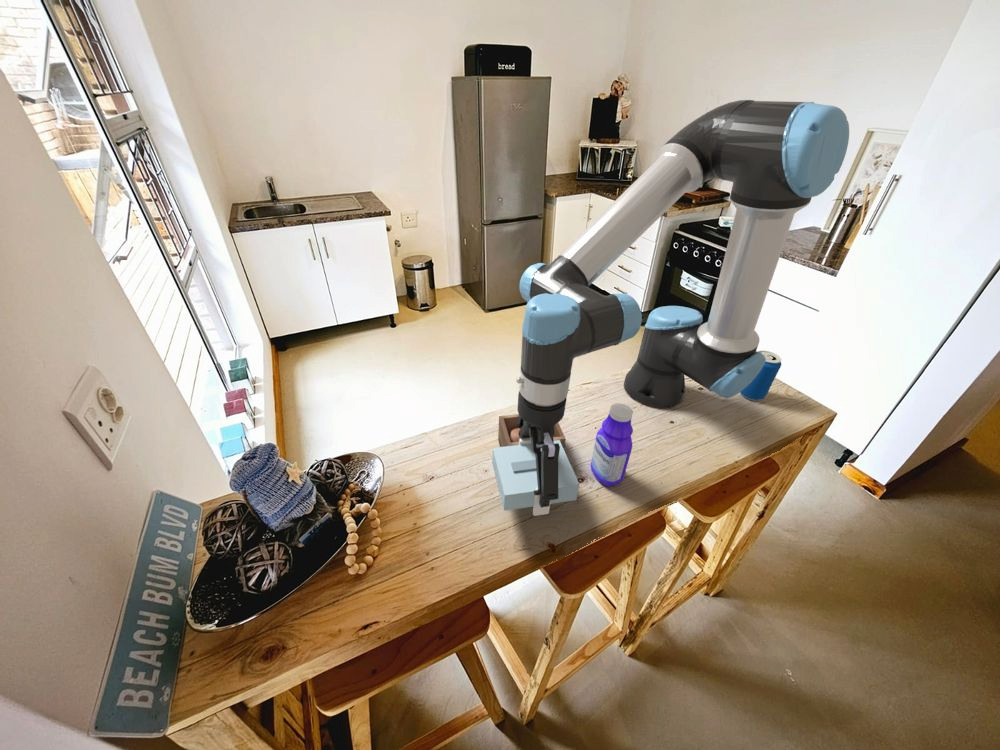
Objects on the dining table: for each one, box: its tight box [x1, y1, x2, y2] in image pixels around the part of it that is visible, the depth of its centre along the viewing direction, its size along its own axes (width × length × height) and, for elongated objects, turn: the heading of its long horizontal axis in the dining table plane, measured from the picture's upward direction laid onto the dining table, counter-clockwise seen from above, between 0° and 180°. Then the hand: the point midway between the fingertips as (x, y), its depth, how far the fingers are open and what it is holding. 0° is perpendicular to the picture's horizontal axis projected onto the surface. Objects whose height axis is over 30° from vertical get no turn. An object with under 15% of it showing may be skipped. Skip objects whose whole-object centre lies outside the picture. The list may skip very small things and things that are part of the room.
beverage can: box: [739, 350, 782, 402], centre depth 106 cm, size 6×6×12 cm
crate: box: [497, 413, 567, 450], centre depth 88 cm, size 12×9×7 cm
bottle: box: [590, 402, 634, 487], centre depth 80 cm, size 7×6×17 cm
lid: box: [491, 440, 580, 512], centre depth 75 cm, size 13×11×4 cm
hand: (532, 486), depth 77 cm, fingers closed on lid, 11 cm apart
